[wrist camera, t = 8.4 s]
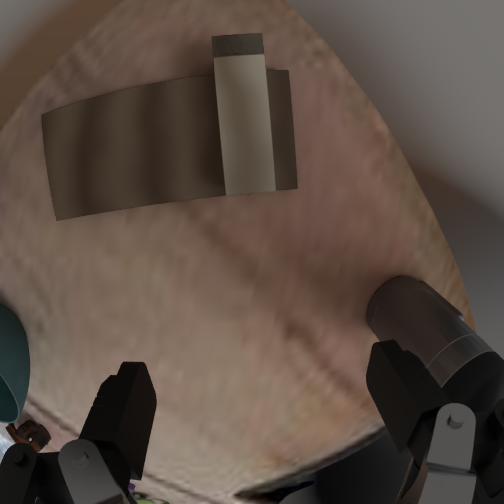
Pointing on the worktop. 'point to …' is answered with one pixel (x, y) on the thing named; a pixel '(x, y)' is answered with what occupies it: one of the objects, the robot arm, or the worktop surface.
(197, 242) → the worktop surface
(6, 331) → the plant pot
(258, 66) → the beige wooden block
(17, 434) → the pottery mug
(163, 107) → the walnut plank
